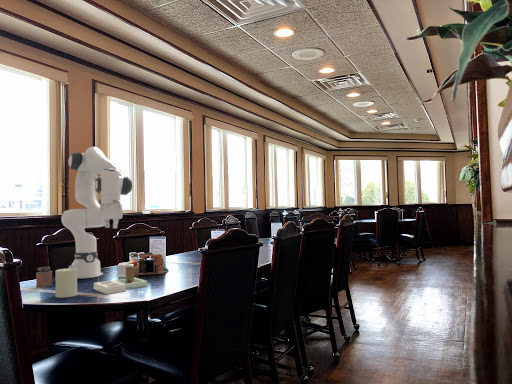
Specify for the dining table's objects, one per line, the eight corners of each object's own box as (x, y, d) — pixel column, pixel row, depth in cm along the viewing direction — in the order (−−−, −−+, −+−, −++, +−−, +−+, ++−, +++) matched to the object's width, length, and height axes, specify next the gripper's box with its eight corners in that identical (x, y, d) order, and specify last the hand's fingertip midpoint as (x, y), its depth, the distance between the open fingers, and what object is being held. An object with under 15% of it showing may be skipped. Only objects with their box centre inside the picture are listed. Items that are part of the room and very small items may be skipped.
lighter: (50, 285, 216) (50, 265, 217) (53, 285, 214) (53, 266, 215) (34, 287, 210) (34, 267, 210) (38, 288, 208) (38, 268, 208)
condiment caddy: (175, 269, 264) (175, 250, 264) (174, 276, 236) (174, 256, 237) (130, 271, 260) (129, 252, 260) (122, 279, 232) (122, 258, 232)
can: (76, 296, 186) (76, 269, 186) (53, 298, 183) (53, 270, 184) (78, 292, 195) (78, 266, 195) (57, 294, 192) (57, 268, 193)
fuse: (124, 284, 209) (123, 264, 210) (131, 283, 212) (131, 263, 212) (127, 285, 206) (127, 265, 207) (135, 284, 209) (134, 264, 209)
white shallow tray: (93, 289, 203) (93, 282, 203) (111, 286, 208) (111, 280, 209) (106, 294, 190) (106, 287, 191) (125, 291, 196) (125, 284, 196)
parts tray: (112, 285, 211) (112, 280, 211) (134, 282, 218) (134, 277, 219) (123, 289, 200) (123, 284, 200) (147, 286, 208) (147, 280, 208)
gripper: (125, 199, 203) (126, 228, 202) (109, 200, 218) (109, 227, 218) (113, 199, 199) (113, 229, 198) (97, 200, 214) (97, 227, 214)
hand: (111, 228), depth 208 cm, fingers open, 8 cm apart
